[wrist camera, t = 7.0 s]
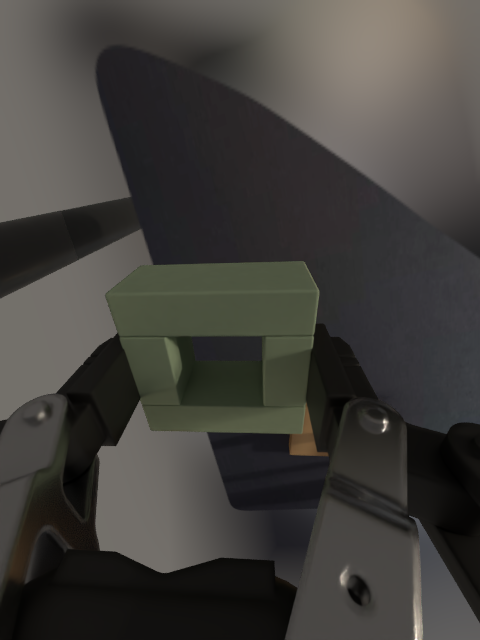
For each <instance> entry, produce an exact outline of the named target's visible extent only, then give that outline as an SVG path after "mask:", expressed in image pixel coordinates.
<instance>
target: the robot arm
mask: <svg viewBox="0 0 480 640" xmlns="http://www.w3.org/2000/svg"><path fill="white" fill-rule="evenodd" d="M313 337H314V341H313V348H312V352H311V361H310V369H309V377H308V386H307V394H306V403H307V407H308V412H309V417H310V421H311V426H312V431H313V435H314V440H315V445H316V449H317V452H328V456H329V460H330V464H329V468H328V472H327V476H326V479H325V482H324V486H323V490H322V494H321V498H320V502H319V506H318V510H317V514H316V518H315V522H314V526H313V530H312V534H311V538H310V542H309V546H308V550H307V554H306V558H305V562H304V566H303V569H302V574H301V577H300V581H299V585H298V588H297V587H295V586H293V585H292V584H290V583H289V582H287V581H285V580H283V579H280V578H278V577H276V576H275V567H274V561H269V560H252V559H234V558H218V559H215V560H212V561H208V562H205V563H201V564H198V565H195V566H191V567H187V568H184V569H180V570H177V571H173V572H170V573H160V572H157V571H155V570H153V569H151V568H149V567H147V566H145V565H143V564H140V563H138V562H136V561H134V560H132V559H130V558H128V557H126V556H124V555H121V554H120V553H118V552H112V551H100V549H99V543H98V539H97V535H96V529H95V517H96V504H97V490H98V475H99V458H98V455H97V453H98V451H99V449H100V448H101V446H116V445H117V443H118V441H119V439H120V437H121V436H122V434H123V432H124V430H125V428H126V426H127V424H128V422H129V420H130V418H131V416H132V414H133V412H134V410H135V408H136V406H137V404H138V402H139V400H140V398H141V397H140V394H139V391H138V388H137V385H136V382H135V380H134V377H133V374H132V371H131V368H130V365H129V362H128V359H127V356H126V353H125V350H124V349H123V348H122V345H121V342H120V340H119V338H120V336H119V335H118V333H117V334H116V335H115V336H114V338H110V339H109V340H107V341H106V342H104V343H103V344H101V345H100V346H99V347H97V349H96V350H95V351H94V352H93V353H92V354H91V357H88V359H87V360H86V361H85V362H84V364H83V365H81V366H80V367H79V368H78V370H77V371H76V372H75V373H74V374H73V375H72V376H71V377H70V378H69V379H68V381H67V382H66V383H65V384H64V385H63V386H62V387H61V388H60V389H59V390H58V392H57V393H56V394H48V395H43V396H40V397H37V398H35V399H33V400H31V401H29V402H27V403H25V404H24V405H22V406H21V407H19V408H18V409H17V410H16V411H15V412H14V413H13V414H12V415H11V416H10V417H9V418H8V419H7V420H2V421H0V640H423V629H422V604H421V603H422V602H421V576H420V551H419V535H418V529H417V525H416V522H415V520H414V519H412V518H411V517H409V515H410V516H413V517H415V518H418V519H419V520H420V522H421V524H422V526H423V527H424V529H425V531H426V532H427V534H428V536H429V537H430V539H431V541H432V543H433V544H434V546H435V547H436V549H437V551H438V553H439V554H440V556H441V558H442V559H443V561H444V563H445V565H446V566H447V568H448V570H449V571H450V573H451V575H452V576H453V578H454V580H455V582H456V583H457V585H458V586H459V588H460V590H461V592H462V593H463V595H464V597H465V598H466V600H467V602H468V604H469V605H470V607H471V609H472V610H473V612H474V614H475V615H476V617H477V619H478V621H479V622H480V425H479V424H474V423H457V424H455V425H453V426H452V427H451V428H450V429H449V431H448V433H447V434H444V433H440V432H437V431H433V430H429V429H425V428H422V427H418V426H415V425H412V424H409V423H406V422H405V421H404V420H403V418H402V417H401V415H400V414H399V413H398V412H397V411H396V410H395V409H394V408H392V407H391V406H389V405H388V404H386V403H384V402H382V401H380V400H378V398H377V396H376V394H375V392H374V390H373V389H372V387H371V385H370V383H369V381H368V379H367V377H366V375H365V374H364V372H363V370H362V368H361V366H359V362H358V360H357V359H356V358H355V355H354V353H353V351H352V349H351V347H350V345H348V344H347V343H346V342H345V341H343V340H342V339H341V338H340V337H330V336H329V333H328V331H327V329H326V327H325V325H324V324H315V332H314V335H313Z"/></svg>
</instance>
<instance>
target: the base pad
mask: <svg viewBox="0 0 480 640" xmlns="http://www.w3.org/2000/svg"><path fill="white" fill-rule="evenodd" d="M305 407H306V408H305V416H304V424H303V432H302V434H290V439H289V451H290V455H311V456H328V452H317V449H316V445H315V440H314V435H313V431H312V426H311V421H310V417H309V412H308V407H307V403H306V405H305Z"/></svg>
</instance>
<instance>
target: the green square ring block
mask: <svg viewBox="0 0 480 640" xmlns="http://www.w3.org/2000/svg"><path fill="white" fill-rule="evenodd" d="M105 296H106V300H107V302H108V306H109V308H110V311H111V314H112V317H113V320H114V323H115V326H116V329H117V332H118V335H119V336H120V338H119V340H120V342H121V345H122V348H123V349H124V350H125V353H126V356H127V359H128V362H129V365H130V368H131V371H132V374H133V377H134V380H135V382H136V385H137V388H138V391H139V394H140V397H141V398H140V401H141V403H142V404H143V405H142V406H143V409H144V412H145V415H146V418H147V421H148V424H149V427H150V430H152V431H191V432H193V431H194V432H235V433H279V434H302V432H303V424H304V416H305V408H306V407H305V405H306V394H307V386H308V377H309V369H310V361H311V352H312V348H313V341H314V337H313V335H314V332H315V324H316V315H317V307H318V299H319V289H318V288H317V286H316V284H315V282H314V280H313V278H312V276H311V274H310V272H309V270H308V268H307V266H306V265H305V263H304V262H303V261H295V262H257V263H218V264H180V265H143V266H140V267H138V268H137V269H136V270H134V271H133V272H132V273H131V274H130V275H128V276H127V277H126V278H125V279H123V280H122V281H121V282H120V283H118V284H117V285H116V286H115V287H113V288H112V289H111V290H110V291H108V292H107V293H106V295H105ZM191 336H262V361H195V355H194V349H193V343H192V337H191Z"/></svg>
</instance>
